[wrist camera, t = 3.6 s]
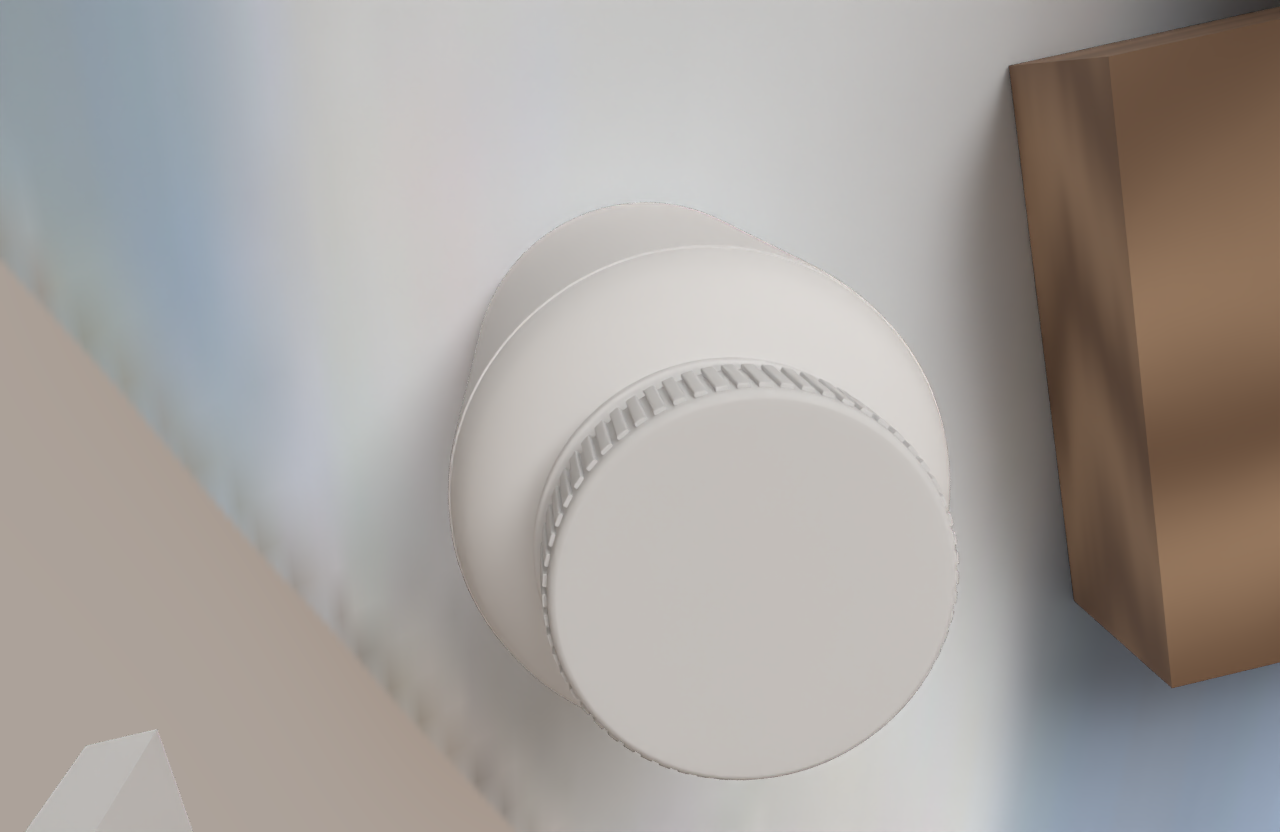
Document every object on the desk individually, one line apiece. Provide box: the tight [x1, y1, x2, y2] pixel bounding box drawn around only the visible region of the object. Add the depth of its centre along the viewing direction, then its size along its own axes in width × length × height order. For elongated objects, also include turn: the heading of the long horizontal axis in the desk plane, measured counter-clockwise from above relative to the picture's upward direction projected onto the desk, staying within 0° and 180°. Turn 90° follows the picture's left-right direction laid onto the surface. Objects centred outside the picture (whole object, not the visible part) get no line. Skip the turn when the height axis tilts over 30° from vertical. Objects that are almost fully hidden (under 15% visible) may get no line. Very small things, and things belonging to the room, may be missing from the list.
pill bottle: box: [448, 202, 959, 780], centre depth 22 cm, size 8×8×15 cm
